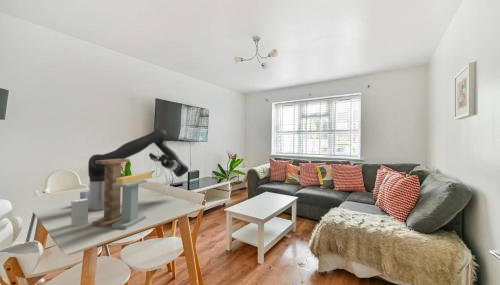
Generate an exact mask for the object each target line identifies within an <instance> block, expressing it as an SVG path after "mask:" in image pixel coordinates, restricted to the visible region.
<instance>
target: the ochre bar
mask: <svg viewBox="0 0 500 285" xmlns="http://www.w3.org/2000/svg"><path fill="white" fill-rule="evenodd" d="M151 178H153V172H152V171H145V172H139V173H136V174H135V173H134V174H130V175H127V176H125V175H124V176H121V177H120V178H116V185H124V184H128V183H132V182H136V181H140V180H148V179H151Z"/></svg>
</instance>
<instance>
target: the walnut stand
mask: <svg viewBox="0 0 500 285" xmlns="http://www.w3.org/2000/svg"><path fill="white" fill-rule="evenodd" d="M129 162H130V159H129V158H125V159H109V160H98V161H95V164H105V187H104V209H103V217H101V218H99V219H96V220H94V221H92V222H90V223H91V224H90V225H91V226H92V227H93V226H94V227H102V228H110V227H112V224H114V223H116V222H118V221H120V220H122V212H121V199H122V197H121V196H122V195H121V194H122V192H121V191H122V189H121V188H122V187H116V186H113V184H116V178H120V177H122V164H123V163H129Z"/></svg>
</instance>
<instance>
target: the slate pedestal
mask: <svg viewBox="0 0 500 285" xmlns="http://www.w3.org/2000/svg"><path fill="white" fill-rule="evenodd" d="M147 180H148V179H144V180H140V181H136V182H132V183H128V184H124V185H116V184H113V186H116V187H121V188H122V189H121V191H122V192H121V194H122V195H121V196H122V197H121V213H122V220H120V221H118V222H116V223H114V224H112V226H111V228H113V229H120V230H121V229H124V230H127V229H129V228H131V227H133V226H134V225H136V224H138V223H140V222H142V221H144V220H145V219H147V215H142V214H138V213H139V211H138V210H139V185H140V184H144V183H146V182H148V181H147Z"/></svg>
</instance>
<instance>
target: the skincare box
mask: <svg viewBox="0 0 500 285" xmlns="http://www.w3.org/2000/svg"><path fill="white" fill-rule="evenodd" d="M70 203H71V205H70V207H71V208H70V209H71V212H70V215H71V216H70V217H71V219H70V221H71V222H70V223H71V226H72V227H76V226H82V225H85V224H88V223H89V209H88V200H87V199H80V198H79V199H75V200H74V199H72V200H71V201H70Z"/></svg>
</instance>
